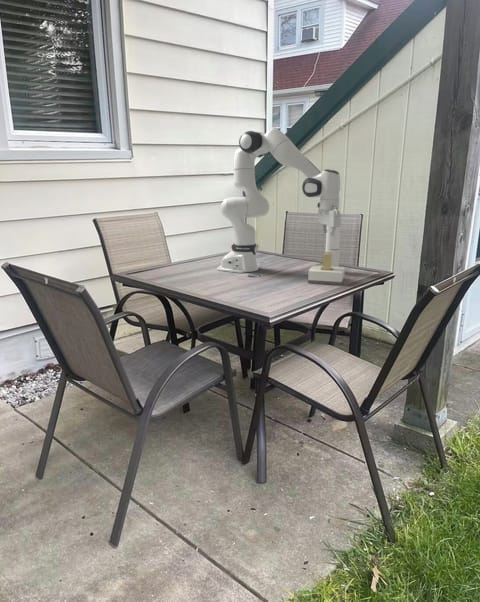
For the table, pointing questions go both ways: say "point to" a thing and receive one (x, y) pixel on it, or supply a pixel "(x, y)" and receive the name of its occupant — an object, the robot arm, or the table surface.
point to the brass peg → (327, 261)
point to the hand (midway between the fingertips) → (328, 234)
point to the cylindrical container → (333, 245)
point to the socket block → (326, 275)
